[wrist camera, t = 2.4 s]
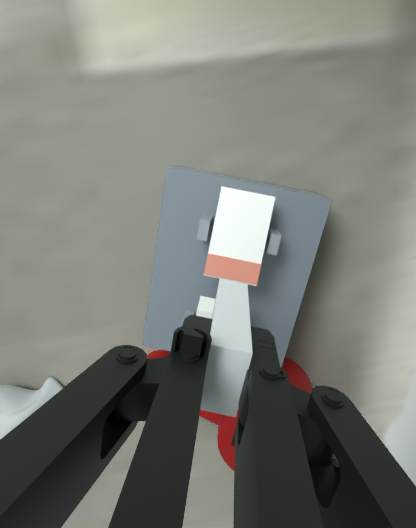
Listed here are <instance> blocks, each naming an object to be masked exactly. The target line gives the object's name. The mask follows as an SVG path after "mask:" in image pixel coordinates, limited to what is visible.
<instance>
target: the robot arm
mask: <svg viewBox="0 0 416 528" xmlns="http://www.w3.org/2000/svg"><path fill="white" fill-rule="evenodd" d="M276 350H277V349H276V345H275V339H274V336H273V335H272V334H271V333H270V331H269V330H267V329H262V328H257V327H252V326H251V325H250V311H249V297H248V284H246V283H241V282H236V281H231V280H226V279H221V278H220V279H219V284H218V289H217V294H216V298H215V303H214V308H213V313H212V318H211V319H210V318H205V317H201V316H196V315H189V316H188V317H186V318H185V319H184V322H183V324H182V326H181V327H179V328H177V329H176V330H175V331H174V334H173V340H172V346H171V352H170V354H169V355H167V356H165V357H162V358H147V354H146V353H145V352H144V351H143V350H142V349H140V348H138V347H135V346H131V345H122V346H117V347H114V348H113V349H111V350H109V351H108V352H107V353H106V354H104V355H103V356H102V357H101V358H100V359H98V360H97V361H96V362H95V363H93V364H92V365H91V366H90V367H89V368H87V369H86V370H85V371H84V372H82V373H81V374H80V375H79V376H77V377H76V378H75V379H74V380H73V381H71V382H70V383H69V384H68V385H66V386H65V387H64V388H63V389H62V390H60V391H59V392H58V393H57V394H55V395H54V396H53V397H52V398H51V399H49V400H48V401H47V402H46V403H44V404H43V405H42V406H41V407H40V408H38V409H37V410H36V411H35V412H33V413H32V414H31V415H30V416H29V417H27V418H26V419H25V420H24V421H22V422H21V423H20V424H19V425H18V426H16V427H15V428H14V429H13V430H11V431H10V432H9V433H8V434H7V435H5V436H4V437H3V438H2V439H0V528H61V527H62V526H63V524H64V523H65V522H66V520H67V519H68V517H69V516H70V515H71V513H72V512H73V511H74V509H75V508H76V507H77V505H78V504H79V503H80V501H81V500H82V499H83V497H84V496H85V495H86V493H87V492H88V491H89V489H90V488H91V486H92V485H93V484H94V482H95V481H96V480H97V478H98V477H99V476H100V474H101V473H102V472H103V470H104V469H105V468H106V466H107V465H108V464H109V462H110V461H111V459H112V458H113V457H114V455H115V454H116V453H117V451H118V450H119V449H120V447H121V446H122V445H123V443H124V442H125V441H126V439H127V438H128V437H129V435H130V434H131V433H132V431H133V430H134V428H135V427H136V425H137V423H138V421H146V423H145V426H144V428H143V431H142V434H141V437H140V440H139V443H138V445H137V448H136V451H135V454H134V457H133V460H132V462H131V465H130V468H129V471H128V474H127V477H126V479H125V482H124V485H123V488H122V491H121V494H120V496H119V499H118V502H117V505H116V508H115V510H114V513H113V516H112V519H111V522H110V525H109V527H108V528H182V525H183V518H184V512H185V505H186V499H187V492H188V485H189V479H190V472H191V466H192V459H193V453H194V446H195V439H196V433H197V426H198V420H199V413H200V410H204V411H208V412H213V413H217V414H222V415H227V416H231V417H236V415H237V411H238V420H237V424H236V428H235V431H234V435H233V439H232V443H231V446H234V444H235V474H234V528H416V486H415V485H414V484H413V482H412V481H411V480H410V478H409V477H408V476H407V474H406V473H405V472H404V470H403V469H402V468H401V466H400V465H399V464H398V463H397V461H396V460H395V459H394V457H393V456H392V455H391V453H390V452H389V451H388V449H387V448H386V447H385V445H384V444H383V443H382V441H381V440H380V439H379V437H378V436H377V435H376V433H375V432H374V431H373V429H372V428H371V427H370V426H369V424H368V423H367V422H366V420H365V419H364V418H363V416H362V415H361V414H360V412H359V411H358V410H357V408H356V407H355V406H354V404H353V403H352V402H351V400H350V399H349V398H348V397H347V396H346V395H344V394H343V393H341V392H340V391H338V390H337V389H334V388H332V387H328V386H316V387H315V388H313V389H312V392H311V393H309V392H306V391H304V390H302V389H300V388H298V387H296V386H294V385H292V384H291V383H290V380H289V377H288V375H287V373H286V372H285V371H284V370H283V369H282V368H281V367H280V364H279V359H278V354H277V351H276ZM335 457H336V458H335ZM336 459H337V460H336ZM337 461H338V462H337Z"/></svg>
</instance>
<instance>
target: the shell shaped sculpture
mask: <svg viewBox="0 0 416 528" xmlns="http://www.w3.org/2000/svg"><path fill="white" fill-rule="evenodd" d="M63 388H64V387H63V386H62V385H61V384H60V383H59V382H58V381H57V380H56V379H54V378H53V377H49V378H48V379H47V380H46V381H45V382H44V384H43V386H42V387H41V388H40V389H38V390H29V389H25V388H22V387H18V386H13V385H0V439H2V438H3V437H4V436H5V435H7V434H8V433H9V432H10V431H11V430H13V429H14V428H15V427H16V426H18V425H19V424H20V423H21V422H22V421H24V420H25V419H26V418H27V417H29V416H30V415H31V414H32V413H33V412H35V411H36V410H37V409H38V408H40V407H41V406H42V405H43V404H44V403H46V402H47V401H48V400H49V399H51V398H52V397H53V396H54V395H55V394H57V393H58V392H59V391H60V390H62V389H63Z"/></svg>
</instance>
